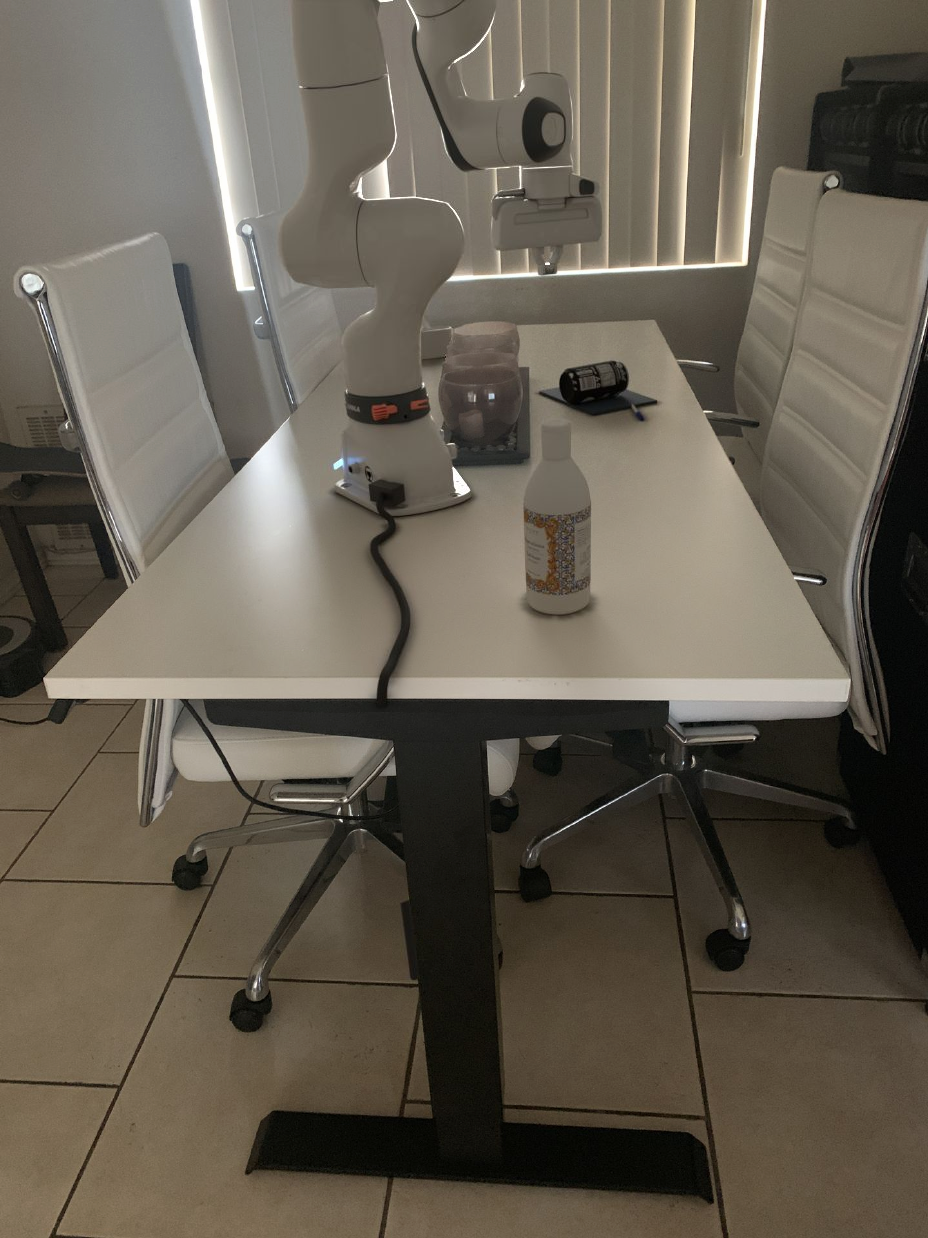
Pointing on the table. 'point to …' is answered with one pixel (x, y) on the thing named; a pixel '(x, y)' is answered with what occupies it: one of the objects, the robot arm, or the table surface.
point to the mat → (603, 401)
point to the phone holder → (434, 340)
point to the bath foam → (557, 527)
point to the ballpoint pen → (637, 413)
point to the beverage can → (593, 381)
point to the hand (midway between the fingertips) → (547, 274)
